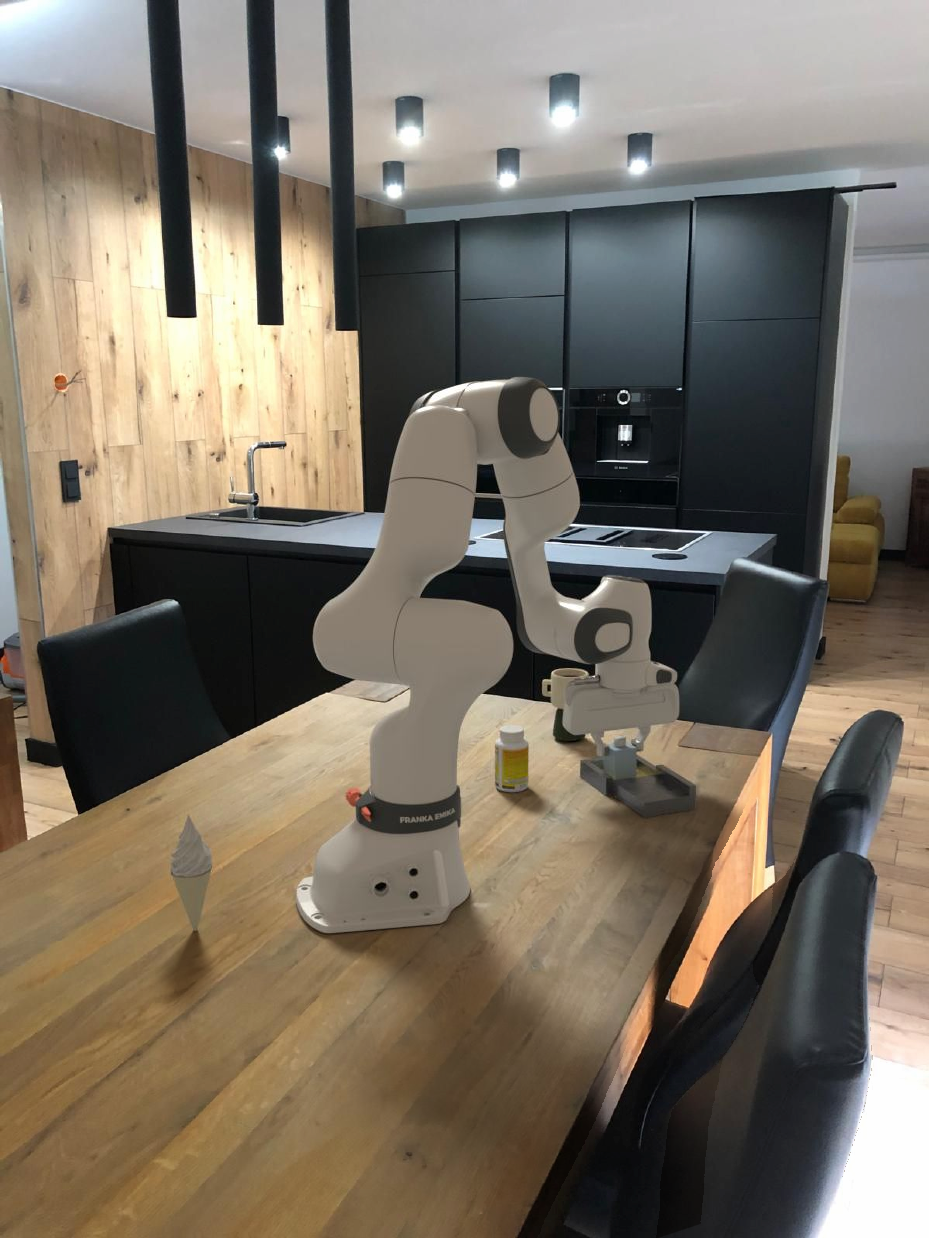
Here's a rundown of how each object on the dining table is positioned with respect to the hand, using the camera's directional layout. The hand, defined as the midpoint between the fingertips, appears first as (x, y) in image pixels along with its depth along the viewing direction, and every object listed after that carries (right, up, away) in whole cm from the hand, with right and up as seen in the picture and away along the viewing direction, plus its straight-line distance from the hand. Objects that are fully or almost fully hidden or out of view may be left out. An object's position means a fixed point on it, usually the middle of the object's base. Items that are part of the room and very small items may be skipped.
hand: (620, 753), depth 166 cm
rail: (+2, -6, -3) cm, 7 cm away
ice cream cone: (-59, -16, -45) cm, 76 cm away
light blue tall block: (0, -4, +1) cm, 4 cm away
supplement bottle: (-18, -6, 0) cm, 19 cm away
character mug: (-6, -1, +24) cm, 25 cm away
